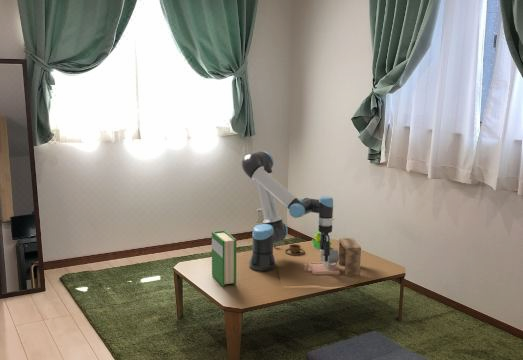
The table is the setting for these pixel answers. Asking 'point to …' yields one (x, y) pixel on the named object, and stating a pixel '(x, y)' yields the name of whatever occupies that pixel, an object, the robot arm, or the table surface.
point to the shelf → (349, 256)
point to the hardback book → (223, 257)
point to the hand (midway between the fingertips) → (324, 263)
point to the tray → (321, 268)
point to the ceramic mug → (332, 257)
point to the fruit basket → (317, 240)
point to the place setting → (293, 249)
